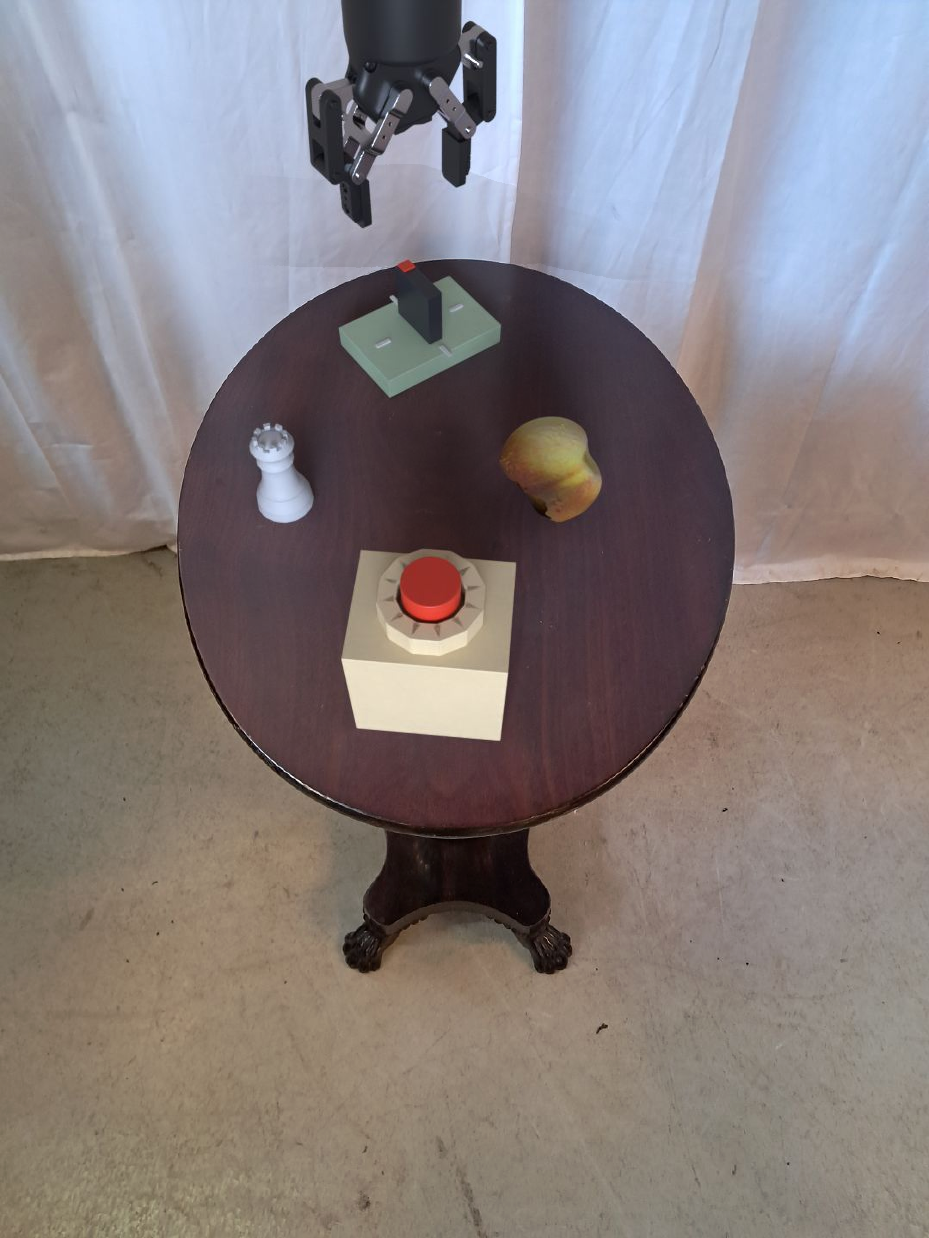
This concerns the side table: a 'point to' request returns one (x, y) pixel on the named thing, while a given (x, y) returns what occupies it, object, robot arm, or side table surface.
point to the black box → (419, 301)
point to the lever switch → (418, 340)
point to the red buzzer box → (429, 650)
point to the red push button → (430, 589)
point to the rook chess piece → (279, 476)
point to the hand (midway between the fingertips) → (408, 201)
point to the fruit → (552, 467)
